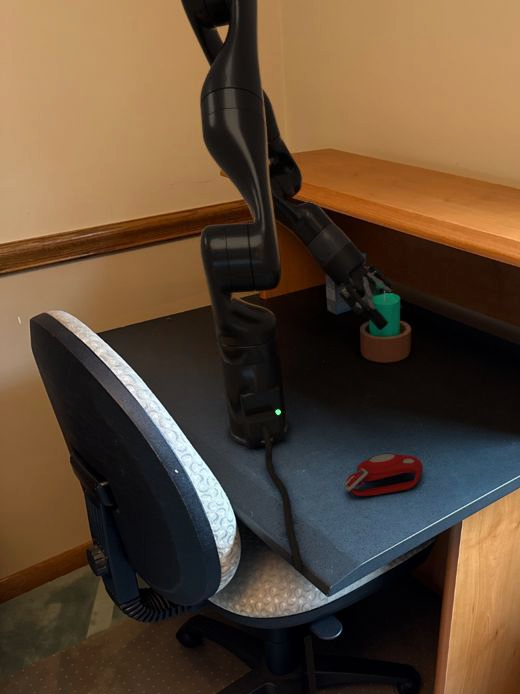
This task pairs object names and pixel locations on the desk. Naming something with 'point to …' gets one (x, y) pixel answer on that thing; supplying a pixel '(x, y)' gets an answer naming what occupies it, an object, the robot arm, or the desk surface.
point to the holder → (385, 344)
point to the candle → (387, 314)
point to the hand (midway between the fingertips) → (391, 318)
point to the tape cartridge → (337, 296)
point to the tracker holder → (384, 473)
